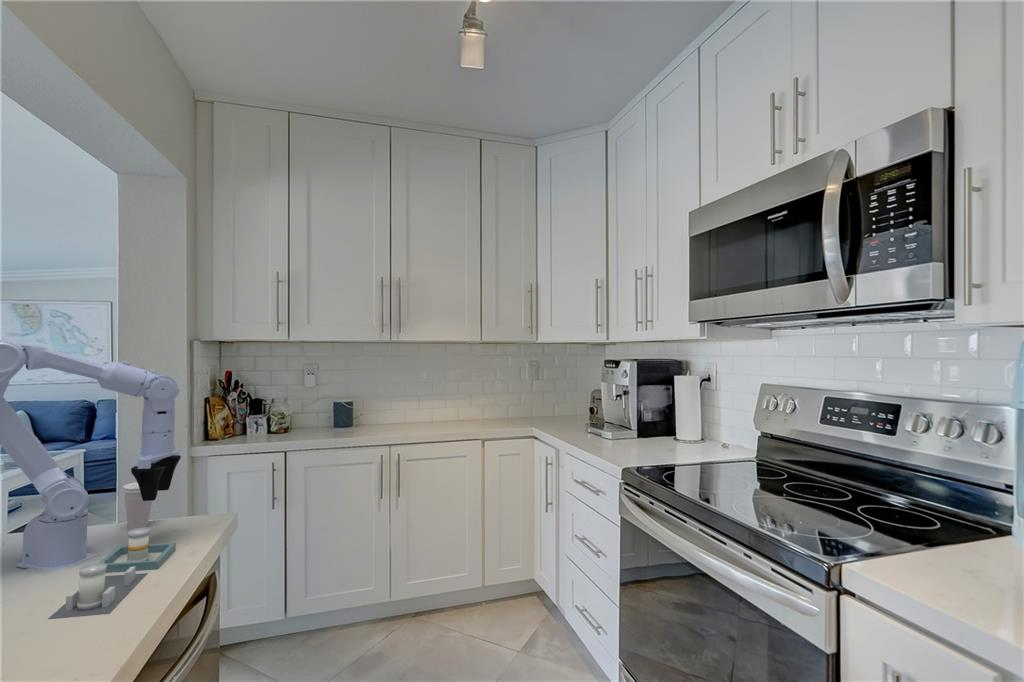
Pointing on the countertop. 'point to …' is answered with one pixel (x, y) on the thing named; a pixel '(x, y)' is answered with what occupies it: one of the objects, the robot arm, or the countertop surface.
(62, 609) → the fuse board
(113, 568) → the tray
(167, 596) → the countertop surface
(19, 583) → the countertop surface
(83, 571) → the cylinder
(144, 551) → the marked fuse
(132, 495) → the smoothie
